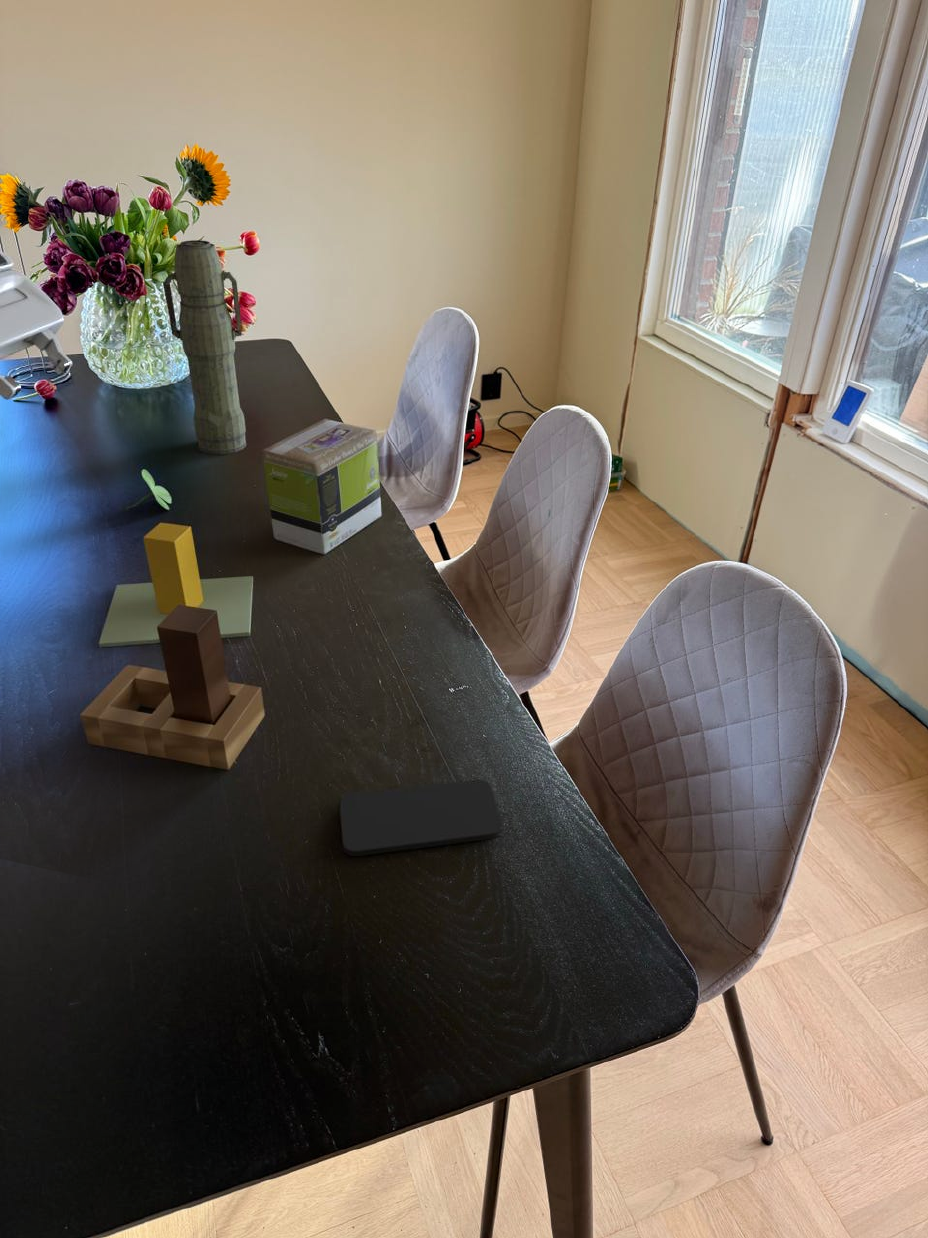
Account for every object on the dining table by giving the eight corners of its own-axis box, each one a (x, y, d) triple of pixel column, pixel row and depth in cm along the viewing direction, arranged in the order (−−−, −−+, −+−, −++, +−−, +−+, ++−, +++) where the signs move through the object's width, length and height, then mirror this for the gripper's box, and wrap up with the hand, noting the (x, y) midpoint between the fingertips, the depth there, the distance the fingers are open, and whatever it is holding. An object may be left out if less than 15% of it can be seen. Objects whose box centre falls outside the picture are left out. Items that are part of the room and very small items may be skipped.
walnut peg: (181, 744, 90) (156, 626, 82) (199, 719, 94) (178, 604, 86) (217, 751, 90) (196, 633, 81) (235, 725, 93) (216, 610, 85)
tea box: (332, 503, 140) (326, 415, 131) (382, 518, 136) (380, 428, 127) (271, 539, 129) (260, 447, 120) (324, 557, 125) (317, 462, 116)
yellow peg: (158, 612, 110) (142, 537, 104) (174, 596, 114) (160, 522, 108) (188, 617, 109) (174, 541, 103) (203, 600, 113) (191, 526, 107)
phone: (338, 795, 84) (488, 777, 86) (339, 801, 84) (488, 783, 86) (343, 853, 77) (504, 832, 80) (343, 859, 78) (504, 839, 80)
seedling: (149, 534, 139) (182, 511, 139) (125, 525, 132) (159, 501, 131) (127, 498, 140) (159, 475, 140) (101, 488, 132) (135, 463, 132)
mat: (99, 647, 104) (98, 643, 104) (117, 588, 116) (116, 584, 116) (250, 636, 107) (249, 632, 107) (253, 579, 119) (252, 575, 119)
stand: (88, 744, 90) (79, 714, 88) (134, 692, 97) (127, 664, 95) (228, 770, 87) (223, 741, 85) (265, 715, 95) (261, 687, 92)
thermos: (187, 439, 161) (155, 238, 141) (251, 434, 164) (229, 236, 145) (190, 457, 154) (157, 248, 134) (257, 451, 157) (234, 246, 138)
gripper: (-123, 285, 84) (-8, 392, 88) (13, 248, 101) (105, 340, 104) (-145, 327, 87) (-33, 429, 91) (-10, 285, 104) (80, 372, 108)
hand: (41, 381), depth 98 cm, fingers open, 8 cm apart
